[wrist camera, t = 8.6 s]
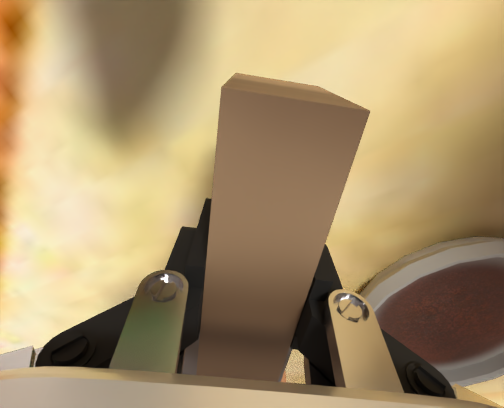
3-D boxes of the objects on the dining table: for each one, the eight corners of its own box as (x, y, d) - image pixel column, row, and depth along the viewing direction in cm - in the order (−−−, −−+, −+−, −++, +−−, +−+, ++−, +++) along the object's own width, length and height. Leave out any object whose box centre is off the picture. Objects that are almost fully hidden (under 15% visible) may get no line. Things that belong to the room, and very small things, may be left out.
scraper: (179, 63, 10) (115, 70, 5) (371, 95, 10) (463, 126, 6) (173, 361, 18) (147, 461, 13) (278, 371, 18) (286, 471, 14)
